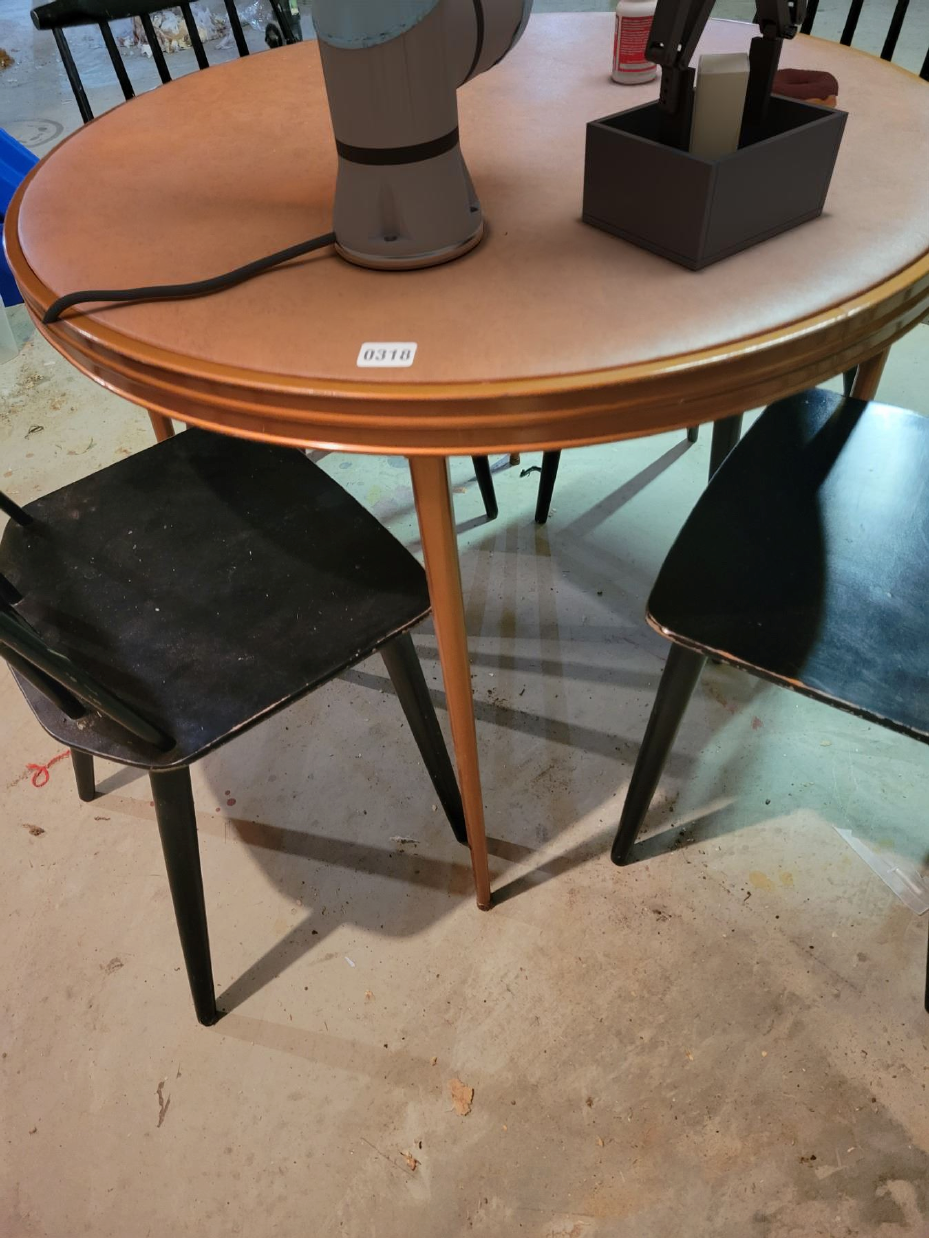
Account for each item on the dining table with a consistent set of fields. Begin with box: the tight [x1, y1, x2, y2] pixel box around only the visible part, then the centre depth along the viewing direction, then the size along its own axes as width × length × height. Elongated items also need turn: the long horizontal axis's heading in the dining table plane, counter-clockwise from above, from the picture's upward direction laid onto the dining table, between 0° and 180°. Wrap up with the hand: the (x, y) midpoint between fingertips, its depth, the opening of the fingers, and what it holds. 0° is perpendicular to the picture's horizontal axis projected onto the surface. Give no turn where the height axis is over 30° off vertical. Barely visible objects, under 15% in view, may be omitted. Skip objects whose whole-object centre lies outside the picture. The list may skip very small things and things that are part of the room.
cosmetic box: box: [689, 52, 750, 161], centre depth 72 cm, size 6×4×12 cm
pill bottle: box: [611, 0, 658, 85], centre depth 105 cm, size 6×6×11 cm
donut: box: [771, 67, 840, 109], centre depth 94 cm, size 10×10×4 cm
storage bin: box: [581, 86, 850, 272], centre depth 74 cm, size 18×16×9 cm
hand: (711, 136), depth 72 cm, fingers open, 10 cm apart
